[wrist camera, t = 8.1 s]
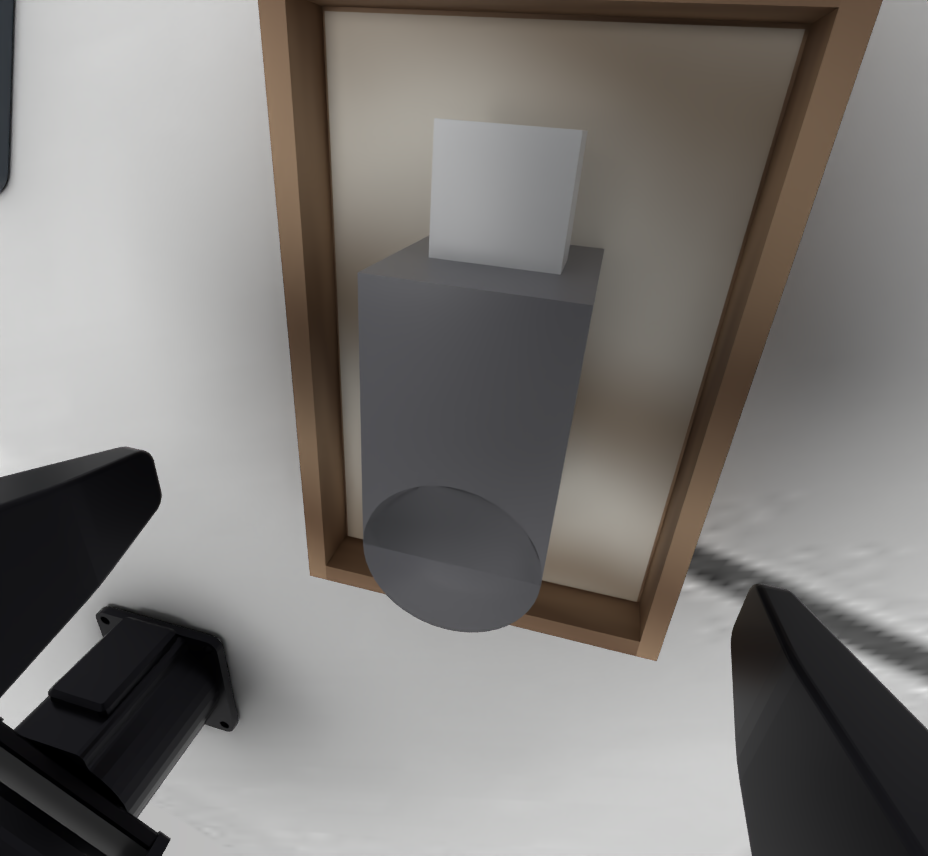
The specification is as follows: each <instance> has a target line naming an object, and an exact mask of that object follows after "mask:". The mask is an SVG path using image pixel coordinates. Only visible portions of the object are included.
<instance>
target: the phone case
mask: <svg viewBox="0 0 928 856" xmlns="http://www.w3.org/2000/svg"><path fill="white" fill-rule="evenodd" d="M13 9H14V0H0V192H1V190H2V189H3V187H4V186H5V184H6V182H7V178H8V167H9V135H10V104H11V72H12V40H13Z"/></svg>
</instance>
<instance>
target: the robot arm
mask: <svg viewBox="0 0 928 856" xmlns="http://www.w3.org/2000/svg"><path fill="white" fill-rule="evenodd" d="M161 498H162V493H161V488H160V484H159V480H158V476H157V472H156V468H155V463H154V460H153V457H152V456H151V455H150V453H148V452H146V451H144V450H139V449H135V448H130V447H119V448H115V449H111V450H107V451H103V452H99V453H95V454H91V455H87V456H83V457H79V458H75V459H71V460H67V461H63V462H59V463H55V464H51V465H47V466H43V467H39V468H35V469H31V470H27V471H23V472H19V473H15V474H11V475H8V476H4V477H0V698H1V697H2V695H3V694H4V693H5V692H6V691H7V690H8V689H9V688H10V686H11V685H12V684H13V683H14V682H15V681H16V680H17V679H18V678H19V676H20V675H21V674H22V673H23V672H24V671H25V670H26V669H27V667H28V666H29V665H30V664H31V663H32V662H33V661H34V660H35V659H36V657H37V656H38V655H39V654H40V653H41V652H42V651H43V650H44V648H45V647H46V646H47V645H48V644H49V643H50V642H51V641H52V640H53V638H54V637H55V636H56V635H57V634H58V633H59V632H60V631H61V629H62V628H63V627H64V626H65V625H66V624H67V623H68V622H69V621H70V619H71V618H72V617H73V616H74V615H75V614H76V613H77V612H78V610H79V609H80V608H81V607H82V606H83V605H84V604H85V603H86V602H87V600H88V599H89V598H90V597H91V596H92V595H93V593H94V592H95V591H96V590H97V589H98V588H99V586H100V585H101V584H102V583H103V581H104V580H105V579H106V577H107V576H108V575H109V574H110V572H111V571H112V570H113V568H114V567H115V566H116V564H117V563H118V562H119V560H120V559H121V558H122V556H123V555H124V554H125V552H126V551H127V550H128V548H129V547H130V545H131V544H132V543H133V541H134V540H135V539H136V537H137V536H138V535H139V533H140V532H141V531H142V529H143V528H144V527H145V525H146V524H147V523H148V521H149V520H150V519H151V517H152V516H153V515H154V513H155V512H156V511H157V509H158V507H159V505H160V503H161ZM96 619H97V622H98V624H99V627H100V630H101V633H102V636H103V638H102V639H101V640H100V641H99V642H98V643H97V644H96V645H95V646H94V647H93V648H92V649H91V650H90V651H89V652H88V653H87V654H85V655H84V656H83V657H82V658H81V659H80V660H79V661H78V662H77V663H76V664H75V665H74V666H73V667H72V668H71V669H70V670H69V671H68V672H67V673H66V674H65V675H64V676H63V677H62V678H61V679H60V680H58V681H57V682H56V683H55V684H54V685H53V686H52V687H51V688H50V690H49V691H48V695H49V696H48V697H47V698H46V699H45V700H44V701H43V702H42V703H41V704H40V705H39V706H38V707H37V708H36V709H35V710H34V711H33V712H31V713H30V714H29V715H28V716H27V717H26V718H25V719H24V720H23V721H22V722H21V723H20V724H19V725H18V726H17V727H16V728H15V729H14V730H13V729H12V728H10V727H9V726H7V725H6V724H5V723H3V722H2V721H3V720H4V719H3V718H2V717H0V856H162V854H163V852H164V851H165V849H166V847H167V845H168V843H169V841H170V838H169V837H168V836H166V835H165V834H163V833H162V832H160V831H159V832H155V831H154V830H153V829H152V828H150V827H149V826H147V825H146V824H145V823H143V822H142V821H140V820H139V819H138V816H139V815H140V813H141V812H142V810H143V809H144V808H145V806H146V805H147V804H148V802H149V801H150V799H151V798H152V797H153V795H154V794H155V792H156V791H157V790H158V788H159V787H160V785H161V784H162V783H163V781H164V780H165V779H166V777H167V776H168V774H169V773H170V772H171V770H172V769H173V767H174V766H175V765H176V763H177V762H178V760H179V759H180V758H181V756H182V755H183V753H184V752H185V751H186V749H187V748H188V746H189V745H190V744H191V742H192V741H193V739H194V738H195V737H196V735H197V734H198V732H199V731H200V730H201V728H202V727H203V725H204V724H206V725H209V726H212V727H215V728H218V729H221V730H225V731H229V732H230V731H233V730H234V728H235V726H236V725H237V723H238V717H237V712H236V707H235V702H234V697H233V693H232V688H231V683H230V678H229V673H228V669H227V664H226V659H225V654H224V649H223V645H222V643H221V641H220V640H219V639H217V638H216V637H214V636H212V635H209V634H205V633H201V632H198V631H194V630H191V629H187V628H184V627H180V626H176V625H173V624H169V623H166V622H162V621H159V620H155V619H151V618H148V617H144V616H141V615H137V614H134V613H130V612H126V611H123V610H119V609H116V608H112V607H107V606H106V607H103V608H102V609H101V610H100V611H99V612H98V613H97V614H96ZM731 659H732V679H733V700H734V721H735V741H736V756H737V765H738V773H739V780H740V786H741V793H742V799H743V805H744V811H745V817H746V823H747V829H748V835H749V841H750V847H751V853H752V856H928V729H927V728H926V727H925V726H924V725H923V724H922V723H921V722H920V721H919V720H918V719H917V718H916V717H915V716H914V715H913V714H912V713H911V712H910V711H909V710H908V709H907V708H906V707H905V706H904V705H903V704H902V703H901V702H900V701H899V700H898V699H897V698H896V697H895V696H894V695H893V694H892V693H891V692H890V691H889V690H888V689H887V688H886V687H885V686H884V685H883V684H882V683H881V682H880V681H879V680H878V679H877V678H876V677H875V676H874V675H873V674H872V673H871V672H870V671H869V670H868V669H867V668H866V667H865V666H864V665H863V664H862V663H861V662H860V661H859V660H858V659H857V658H856V657H855V656H854V654H853V653H852V652H851V651H850V650H849V649H848V648H847V647H846V646H845V645H844V644H843V643H842V642H841V641H840V640H839V639H838V638H837V637H836V636H835V635H834V634H833V633H832V632H831V631H830V630H829V629H828V628H827V627H826V626H825V625H824V624H823V623H822V622H821V621H820V620H819V619H818V618H817V617H816V616H815V615H814V614H813V613H812V612H811V611H810V610H809V609H808V608H807V607H806V606H805V605H804V604H803V603H802V602H801V601H800V600H799V599H798V598H797V597H796V596H795V595H794V594H793V593H792V592H790V591H789V590H786V589H783V588H778V587H774V586H769V585H764V584H755V585H753V586H752V587H751V588H750V590H749V592H748V594H747V596H746V599H745V601H744V603H743V606H742V608H741V610H740V613H739V615H738V617H737V620H736V622H735V625H734V627H733V631H732V636H731Z"/></svg>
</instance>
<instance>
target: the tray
mask: <svg viewBox="0 0 928 856" xmlns="http://www.w3.org/2000/svg"><path fill="white" fill-rule="evenodd" d="M882 1H883V0H258V7H259V18H260V29H261V40H262V51H263V62H264V73H265V84H266V95H267V106H268V117H269V128H270V139H271V150H272V161H273V172H274V183H275V194H276V205H277V216H278V227H279V238H280V250H281V261H282V272H283V283H284V294H285V305H286V316H287V327H288V338H289V349H290V360H291V371H292V382H293V393H294V404H295V415H296V426H297V437H298V448H299V459H300V470H301V481H302V492H303V503H304V514H305V525H306V536H307V548H308V559H309V570H310V576H314V577H318V578H322V579H326V580H330V581H334V582H338V583H342V584H347V585H351V586H355V587H359V588H363V589H367V590H371V591H375V592H379V593H383V594H385V593H384V591H383V590H382V589H381V588H380V587H379V585H378V584H377V582H376V581H375V579H374V578H373V576H372V574H371V572H370V570H369V567H368V565H367V562H366V559H365V555H364V547H363V513H362V465H361V417H360V369H359V321H358V273H357V272H359V271H361V270H363V269H365V268H367V267H369V266H371V265H373V264H375V263H377V262H379V261H381V260H383V259H385V258H386V257H388V256H390V255H392V254H394V253H396V252H398V251H400V250H402V249H404V248H406V247H408V246H410V245H412V244H413V243H415V242H417V241H419V240H421V239H423V238H425V237H427V236H429V233H430V208H431V182H432V157H433V132H434V118H439V119H452V120H465V121H477V122H489V123H501V124H514V125H526V126H538V127H550V128H563V129H575V130H587V131H588V133H587V139H586V146H585V152H584V158H583V165H582V171H581V177H580V184H579V190H578V196H577V203H576V209H575V215H574V222H573V228H572V235H571V241H570V245H576V246H584V247H593V248H601V249H604V254H603V259H602V264H601V270H600V275H599V280H598V286H597V291H596V297H595V302H594V307H593V313H592V318H591V323H590V329H589V334H588V339H587V345H586V350H585V355H584V361H583V366H582V371H581V377H580V382H579V388H578V393H577V398H576V404H575V409H574V414H573V420H572V425H571V430H570V436H569V441H568V446H567V452H566V457H565V462H564V468H563V473H562V478H561V483H560V489H559V494H558V499H557V504H556V510H555V515H554V520H553V525H552V530H551V536H550V541H549V546H548V551H547V557H546V562H545V567H544V572H543V578H542V583H541V587H540V591H539V594H538V596H537V599H536V601H535V603H534V604H533V605H532V607H531V608H530V609H529V611H528V612H527V613H526V614H524V615H523V616H522V617H521V618H520V619H518V620H517V621H515V622H513V623H511V624H509V625H512V626H516V627H520V628H524V629H529V630H533V631H537V632H541V633H545V634H549V635H553V636H557V637H561V638H565V639H569V640H573V641H577V642H581V643H585V644H589V645H593V646H597V647H601V648H605V649H609V650H613V651H617V652H622V653H626V654H630V655H634V656H638V657H642V658H646V659H650V660H654V661H657V659H658V656H659V653H660V650H661V647H662V644H663V641H664V638H665V635H666V632H667V629H668V626H669V624H670V621H671V618H672V615H673V612H674V609H675V606H676V603H677V600H678V597H679V594H680V591H681V588H682V585H683V583H684V580H685V577H686V574H687V571H688V568H689V565H690V562H691V559H692V556H693V553H694V550H695V547H696V545H697V542H698V539H699V536H700V533H701V530H702V527H703V524H704V521H705V518H706V515H707V512H708V509H709V507H710V504H711V501H712V498H713V495H714V492H715V489H716V486H717V483H718V480H719V477H720V474H721V471H722V469H723V466H724V463H725V460H726V457H727V454H728V451H729V448H730V445H731V442H732V439H733V436H734V433H735V431H736V428H737V425H738V422H739V419H740V416H741V413H742V410H743V407H744V404H745V401H746V398H747V395H748V393H749V390H750V387H751V384H752V381H753V378H754V375H755V372H756V369H757V366H758V363H759V360H760V357H761V354H762V352H763V349H764V346H765V343H766V340H767V337H768V334H769V331H770V328H771V325H772V322H773V319H774V316H775V314H776V311H777V308H778V305H779V302H780V299H781V296H782V293H783V290H784V287H785V284H786V281H787V278H788V276H789V273H790V270H791V267H792V264H793V261H794V258H795V255H796V252H797V249H798V246H799V243H800V240H801V238H802V235H803V232H804V229H805V226H806V223H807V220H808V217H809V214H810V211H811V208H812V205H813V202H814V200H815V197H816V194H817V191H818V188H819V185H820V182H821V179H822V176H823V173H824V170H825V167H826V164H827V162H828V159H829V156H830V153H831V150H832V147H833V144H834V141H835V138H836V135H837V132H838V129H839V126H840V123H841V121H842V118H843V115H844V112H845V109H846V106H847V103H848V100H849V97H850V94H851V91H852V88H853V85H854V83H855V80H856V77H857V74H858V71H859V68H860V65H861V62H862V59H863V56H864V53H865V50H866V47H867V45H868V42H869V39H870V36H871V33H872V30H873V27H874V24H875V21H876V18H877V15H878V12H879V9H880V7H881V4H882Z"/></svg>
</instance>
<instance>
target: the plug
mask: <svg viewBox="0 0 928 856" xmlns="http://www.w3.org/2000/svg"><path fill="white" fill-rule="evenodd" d="M587 133H588V131H587V130H575V129H563V128H550V127H538V126H526V125H514V124H501V123H489V122H477V121H465V120H452V119H439V118H434V132H433V157H432V182H431V208H430V233H429V236H427V237H425V238H423V239H421V240H419V241H417V242H415V243H413V244H412V245H410V246H408V247H406V248H404V249H402V250H400V251H398V252H396V253H394V254H392V255H390V256H388V257H386V258H385V259H383V260H381V261H379V262H377V263H375V264H373V265H371V266H369V267H367V268H365V269H363V270H361V271H359V272H357V273H358V321H359V369H360V417H361V465H362V513H363V547H364V555H365V559H366V562H367V565H368V567H369V570H370V572H371V574H372V576H373V578H374V579H375V581H376V582H377V584H378V585H379V587H380V588H381V589H382V590H383V591H384V593H385V594H386V595H387V596H388V597H389V598H390V599H391V600H392V601H393V602H394V603H396V604H397V605H398V606H399V607H401V608H402V609H403V610H405V611H406V612H408V613H409V614H411V615H413V616H414V617H416V618H418V619H420V620H422V621H424V622H427V623H429V624H431V625H434V626H437V627H441V628H444V629H448V630H453V631H460V632H485V631H491V630H496V629H499V628H502V627H505V626H507V625H509V624H511V623H513V622H515V621H517V620H518V619H520V618H521V617H522V616H523V615H524V614H526V613H527V612H528V611H529V609H530V608H531V607H532V605H533V604H534V603H535V601H536V599H537V596H538V594H539V591H540V587H541V583H542V578H543V572H544V567H545V562H546V557H547V551H548V546H549V541H550V536H551V530H552V525H553V520H554V515H555V510H556V504H557V499H558V494H559V489H560V483H561V478H562V473H563V468H564V462H565V457H566V452H567V446H568V441H569V436H570V430H571V425H572V420H573V414H574V409H575V404H576V398H577V393H578V388H579V382H580V377H581V371H582V366H583V361H584V355H585V350H586V345H587V339H588V334H589V329H590V323H591V318H592V313H593V307H594V302H595V297H596V291H597V286H598V280H599V275H600V270H601V264H602V259H603V254H604V249H601V248H593V247H584V246H576V245H570V241H571V235H572V228H573V222H574V215H575V209H576V203H577V196H578V190H579V184H580V177H581V171H582V165H583V158H584V152H585V146H586V139H587Z"/></svg>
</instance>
